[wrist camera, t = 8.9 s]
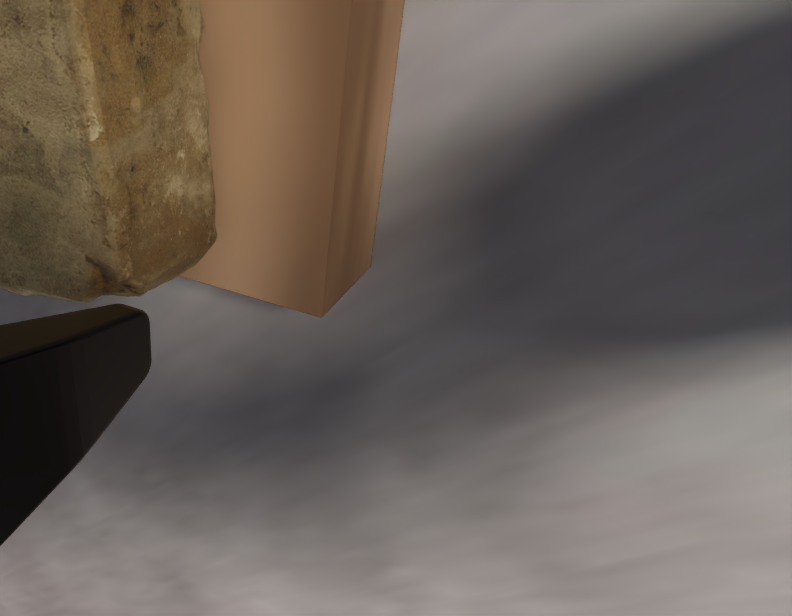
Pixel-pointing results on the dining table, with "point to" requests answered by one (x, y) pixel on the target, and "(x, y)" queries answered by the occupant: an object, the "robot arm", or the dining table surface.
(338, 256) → the plinth
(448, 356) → the dining table surface
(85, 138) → the stone block
